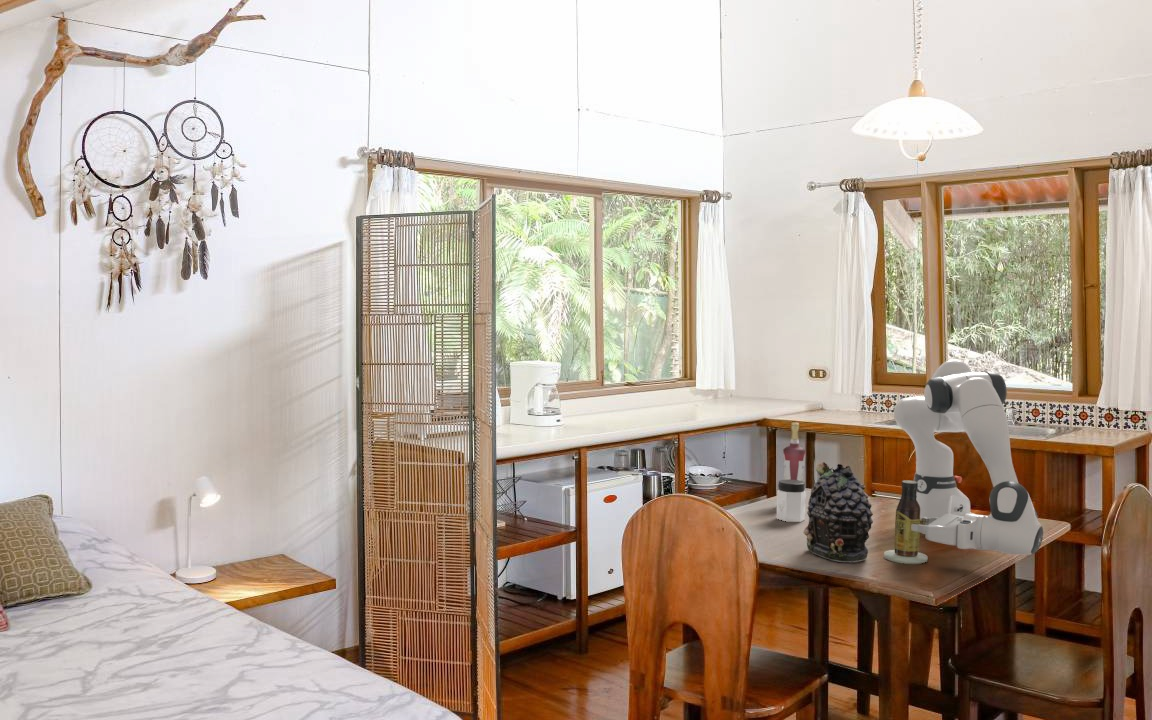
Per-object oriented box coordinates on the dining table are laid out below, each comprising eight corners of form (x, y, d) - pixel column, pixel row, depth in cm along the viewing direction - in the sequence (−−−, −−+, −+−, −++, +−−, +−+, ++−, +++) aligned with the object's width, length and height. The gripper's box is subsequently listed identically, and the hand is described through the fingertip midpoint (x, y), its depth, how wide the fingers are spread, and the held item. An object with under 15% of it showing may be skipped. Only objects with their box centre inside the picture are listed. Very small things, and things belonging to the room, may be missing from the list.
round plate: (903, 551, 263) (903, 547, 263) (936, 560, 254) (936, 557, 254) (875, 556, 258) (875, 552, 258) (908, 566, 248) (908, 562, 248)
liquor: (804, 508, 319) (806, 424, 318) (781, 506, 321) (784, 423, 319) (803, 503, 327) (805, 422, 325) (781, 502, 328) (783, 421, 327)
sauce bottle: (890, 551, 259) (893, 478, 258) (913, 551, 259) (916, 479, 258) (898, 557, 253) (901, 483, 252) (922, 558, 253) (925, 483, 252)
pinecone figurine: (790, 549, 265) (792, 459, 263) (834, 544, 271) (836, 456, 269) (840, 568, 246) (843, 471, 244) (886, 562, 252) (889, 468, 250)
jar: (771, 517, 304) (772, 480, 303) (791, 515, 308) (792, 478, 307) (790, 523, 296) (791, 485, 295) (810, 521, 300) (811, 483, 299)
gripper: (981, 512, 254) (927, 505, 262) (963, 525, 237) (906, 518, 245) (980, 535, 254) (926, 528, 262) (962, 550, 238) (905, 542, 245)
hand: (916, 523), depth 254 cm, fingers open, 8 cm apart
